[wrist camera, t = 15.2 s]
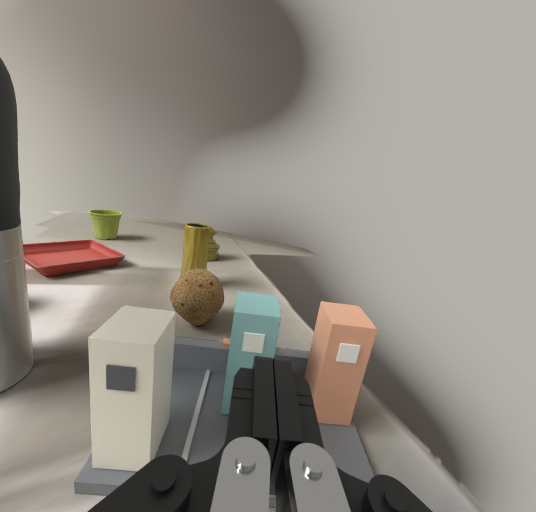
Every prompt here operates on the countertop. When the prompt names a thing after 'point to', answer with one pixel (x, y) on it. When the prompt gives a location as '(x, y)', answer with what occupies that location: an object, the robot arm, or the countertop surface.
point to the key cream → (130, 386)
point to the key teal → (250, 335)
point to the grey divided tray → (218, 417)
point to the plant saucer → (69, 256)
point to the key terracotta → (338, 360)
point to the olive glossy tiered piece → (212, 246)
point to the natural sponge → (197, 296)
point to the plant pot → (105, 223)
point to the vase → (195, 247)
